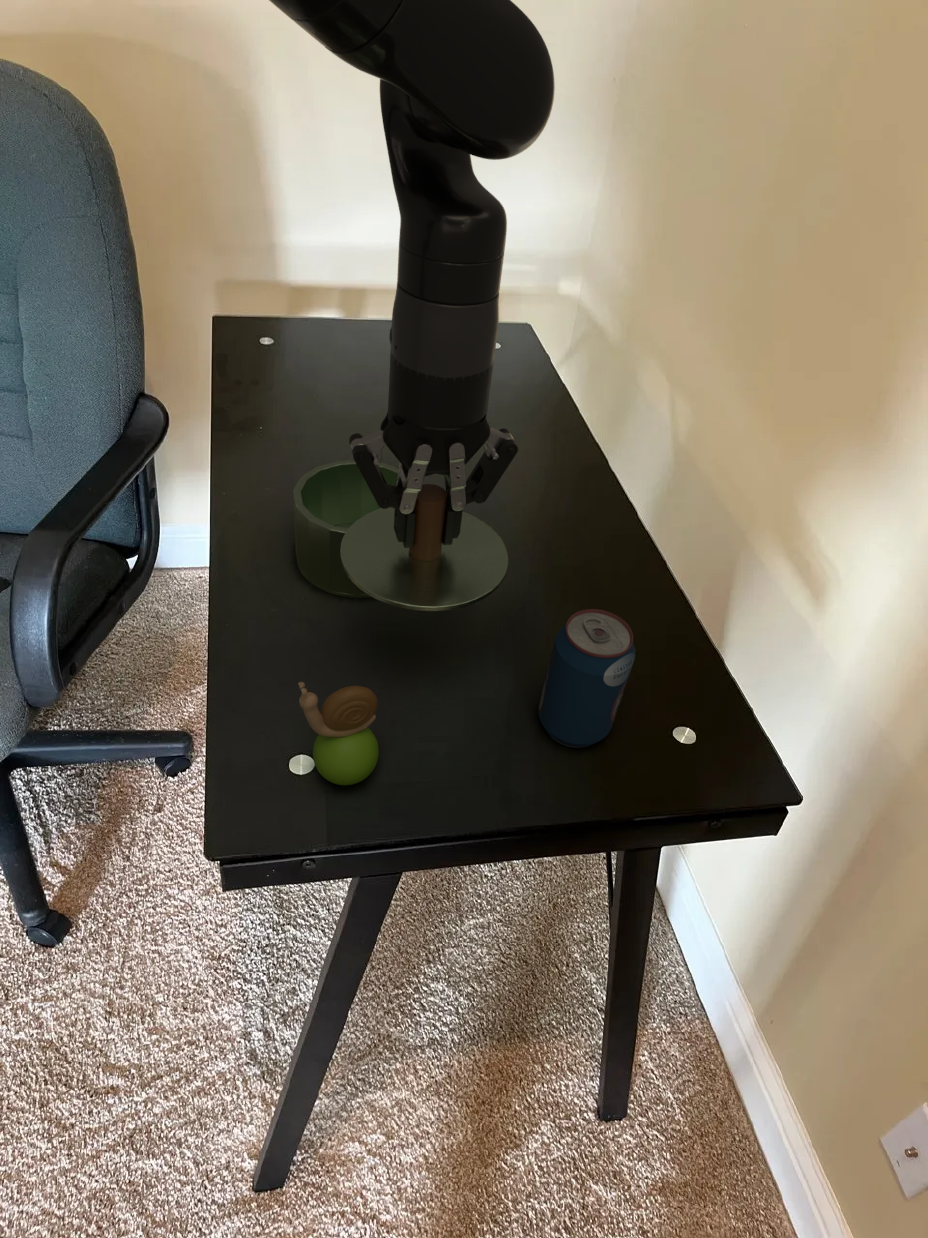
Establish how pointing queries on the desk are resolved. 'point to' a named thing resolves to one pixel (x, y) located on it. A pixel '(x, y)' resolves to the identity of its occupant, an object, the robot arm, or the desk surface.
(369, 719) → the snail figurine
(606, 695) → the soda can
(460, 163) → the robot arm
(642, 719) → the desk surface
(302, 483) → the pot
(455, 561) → the pot lid
